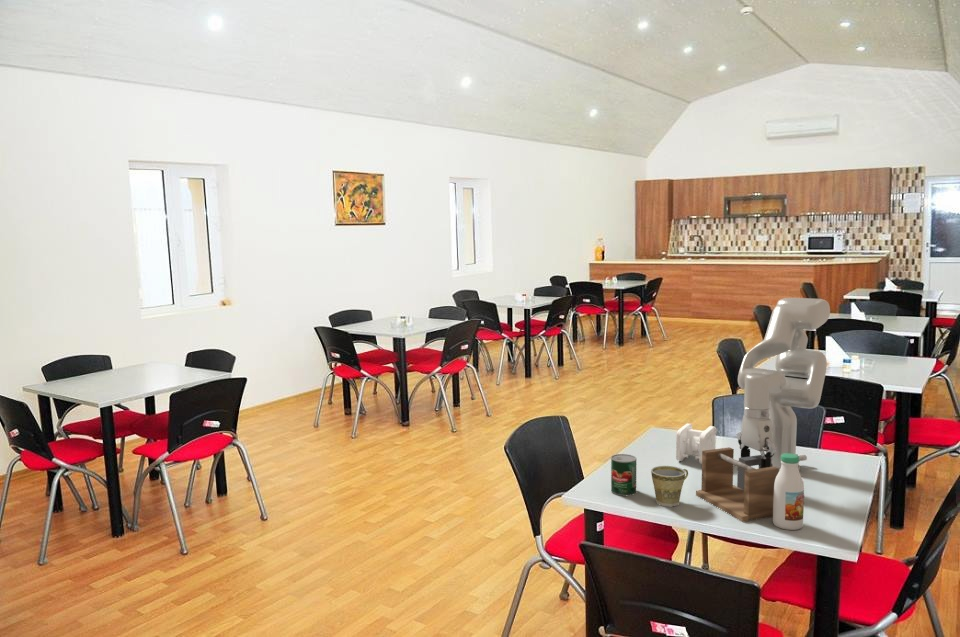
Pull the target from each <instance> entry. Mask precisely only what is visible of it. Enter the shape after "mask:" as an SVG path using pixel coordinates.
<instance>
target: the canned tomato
mask: <svg viewBox="0 0 960 637" xmlns="http://www.w3.org/2000/svg"><path fill="white" fill-rule="evenodd" d="M610 463H611V464H610V465H611V466H610V469H611V470H610V483H611V484H610V486H611V487H610V489H611V491H610V492H611V493H612V494H614V495H616V494H617V495H616V496H620V495H623V496H622V497H627V496H626V495H631V496H634V495H636V494H635V493H637V457H636V456H635V455H631V454H625V453H617V454H614V455H612V456H610Z"/></svg>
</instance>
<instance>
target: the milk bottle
mask: <svg viewBox="0 0 960 637" xmlns="http://www.w3.org/2000/svg"><path fill="white" fill-rule="evenodd" d="M799 456H800V455H799V454H797V455H795V454H790V453H785V454H782V455H781V463H782V465H781V468H780V471H779V473H778V474H777V476H776V479H775V483H774V498H773V517H772V523H773V525H774V526H775V527H777V528H780V529H782V530H787V531H797V530H801V529H802V528H803V526H804V510H805V508H804V507H805V506H804V504H805V503H804V502H805V485H804V480H803V478H802V475H801V473H800V470H798V464H799V465H800V461H799Z"/></svg>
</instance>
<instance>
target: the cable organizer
mask: <svg viewBox="0 0 960 637" xmlns="http://www.w3.org/2000/svg"><path fill="white" fill-rule="evenodd" d="M717 433H718V429H717V428H716V427H715V426H713V425H709V426H708V427H707V428H706V429H705V430H699V429H693V425H692V423H688V422H686V424H684V425H682V427H680V428H679V429H678V430H677V432H676V436H675V438H676V440H675V442H676V443H675V449H676V450H675V459H676V461H678V462H679V461H681V462H683V461H684V459H685V458H687V460H688V458H689V456H694V457H695V458H694V459H695V461H696V460H697V459H698V462H699V464H700V465H702V451H705V450H713V449H716V447H717V446H716V441H717V440H716V438H717Z"/></svg>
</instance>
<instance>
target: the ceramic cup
mask: <svg viewBox="0 0 960 637" xmlns="http://www.w3.org/2000/svg"><path fill="white" fill-rule="evenodd" d="M650 473H651V479H652V484H653V489H654V495H655V501H656V504H657V503H658V504H657V505H659V504H660V505H659V506H661V505H662V506H661V507H665V506H674V507H676V505H678V506H679V505H680V499H681V495H682V490H683V486H684V482H685V480H686V479H687V478H688V476H689V471H688V469H686V468H680V467H678V466H674V465H658V466H654V467H652V468H651V469H650Z"/></svg>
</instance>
